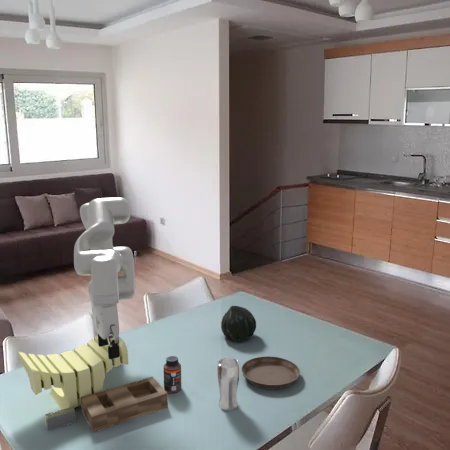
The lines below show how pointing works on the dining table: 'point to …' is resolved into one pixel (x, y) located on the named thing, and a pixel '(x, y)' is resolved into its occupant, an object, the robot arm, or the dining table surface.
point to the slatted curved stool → (72, 371)
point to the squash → (238, 324)
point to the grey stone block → (60, 418)
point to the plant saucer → (270, 372)
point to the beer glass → (228, 383)
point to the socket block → (123, 403)
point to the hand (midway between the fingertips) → (108, 351)
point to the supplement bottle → (172, 375)
